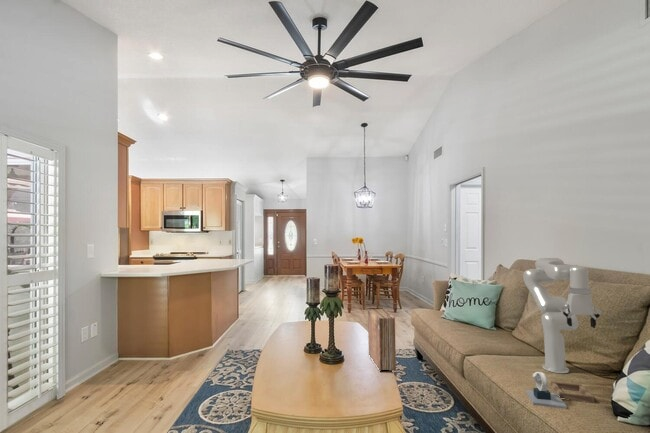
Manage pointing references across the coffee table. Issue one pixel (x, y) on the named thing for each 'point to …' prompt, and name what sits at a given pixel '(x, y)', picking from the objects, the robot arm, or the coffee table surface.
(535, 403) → the pad
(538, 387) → the watch
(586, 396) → the pocket frame
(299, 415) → the coffee table surface
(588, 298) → the robot arm
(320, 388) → the coffee table surface
